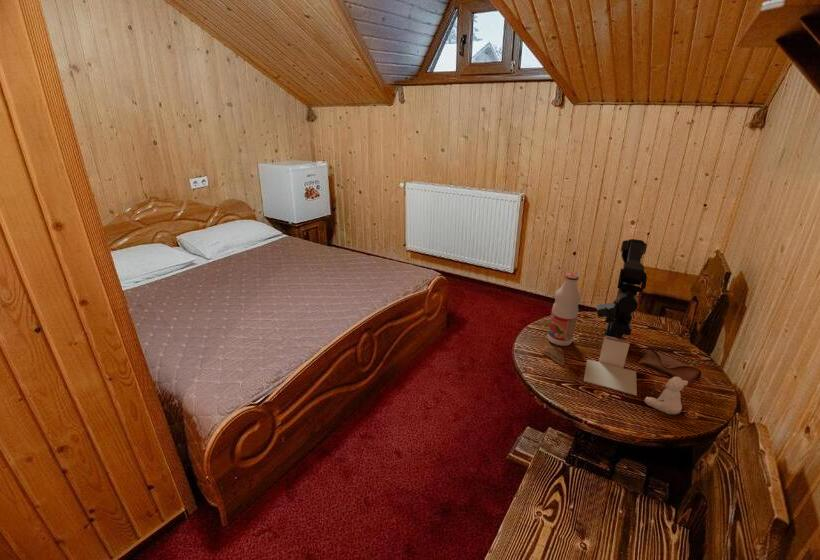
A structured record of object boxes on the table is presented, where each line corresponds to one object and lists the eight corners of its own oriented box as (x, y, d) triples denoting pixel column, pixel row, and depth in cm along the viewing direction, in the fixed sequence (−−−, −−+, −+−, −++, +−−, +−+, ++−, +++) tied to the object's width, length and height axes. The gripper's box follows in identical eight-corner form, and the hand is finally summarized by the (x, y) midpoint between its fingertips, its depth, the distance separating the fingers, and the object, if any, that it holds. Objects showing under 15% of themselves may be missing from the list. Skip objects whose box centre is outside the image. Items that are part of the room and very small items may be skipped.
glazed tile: (599, 358, 149) (604, 335, 145) (623, 364, 145) (629, 341, 142) (598, 362, 147) (604, 338, 143) (623, 368, 143) (629, 344, 139)
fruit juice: (575, 346, 156) (589, 280, 145) (550, 345, 156) (562, 279, 145) (567, 334, 164) (580, 270, 153) (544, 333, 165) (555, 270, 154)
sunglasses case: (636, 362, 147) (644, 345, 147) (641, 364, 152) (648, 348, 152) (692, 386, 134) (700, 368, 134) (695, 388, 139) (703, 370, 139)
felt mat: (586, 360, 148) (587, 359, 147) (635, 372, 141) (636, 371, 141) (583, 381, 136) (583, 380, 136) (636, 395, 130) (636, 394, 129)
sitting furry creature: (665, 396, 130) (675, 364, 125) (689, 413, 122) (701, 381, 118) (642, 401, 127) (651, 370, 122) (665, 420, 120) (677, 387, 115)
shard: (563, 368, 144) (564, 363, 143) (541, 364, 146) (542, 359, 145) (562, 352, 153) (563, 348, 153) (542, 348, 155) (542, 344, 155)
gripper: (602, 287, 152) (593, 323, 158) (599, 306, 136) (590, 346, 142) (635, 293, 147) (625, 330, 153) (636, 313, 132) (625, 354, 138)
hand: (615, 339), depth 147 cm, fingers closed
